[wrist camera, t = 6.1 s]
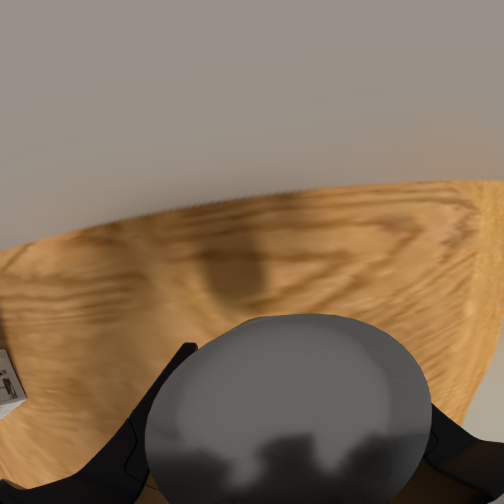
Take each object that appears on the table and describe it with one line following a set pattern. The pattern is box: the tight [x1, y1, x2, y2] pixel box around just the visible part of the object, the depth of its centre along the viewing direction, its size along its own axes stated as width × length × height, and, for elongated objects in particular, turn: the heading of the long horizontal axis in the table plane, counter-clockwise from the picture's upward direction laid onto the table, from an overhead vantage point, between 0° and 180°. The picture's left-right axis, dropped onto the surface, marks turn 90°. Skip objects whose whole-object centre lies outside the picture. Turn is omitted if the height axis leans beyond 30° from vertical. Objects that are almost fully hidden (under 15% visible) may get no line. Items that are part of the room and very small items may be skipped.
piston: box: [145, 314, 432, 504], centre depth 9 cm, size 5×5×12 cm
